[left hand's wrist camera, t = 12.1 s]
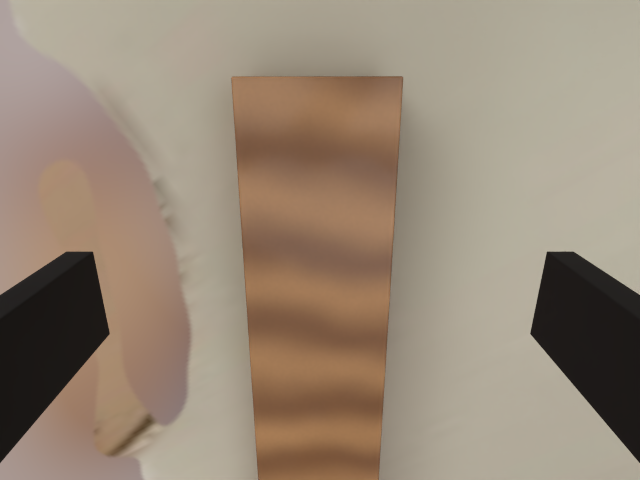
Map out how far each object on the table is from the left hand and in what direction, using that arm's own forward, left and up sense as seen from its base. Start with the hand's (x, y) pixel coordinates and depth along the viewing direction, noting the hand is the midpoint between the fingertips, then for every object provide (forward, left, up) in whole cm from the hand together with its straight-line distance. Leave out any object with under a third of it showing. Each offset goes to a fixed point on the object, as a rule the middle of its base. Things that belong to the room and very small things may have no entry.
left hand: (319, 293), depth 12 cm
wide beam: (+27, -6, -20) cm, 33 cm away
